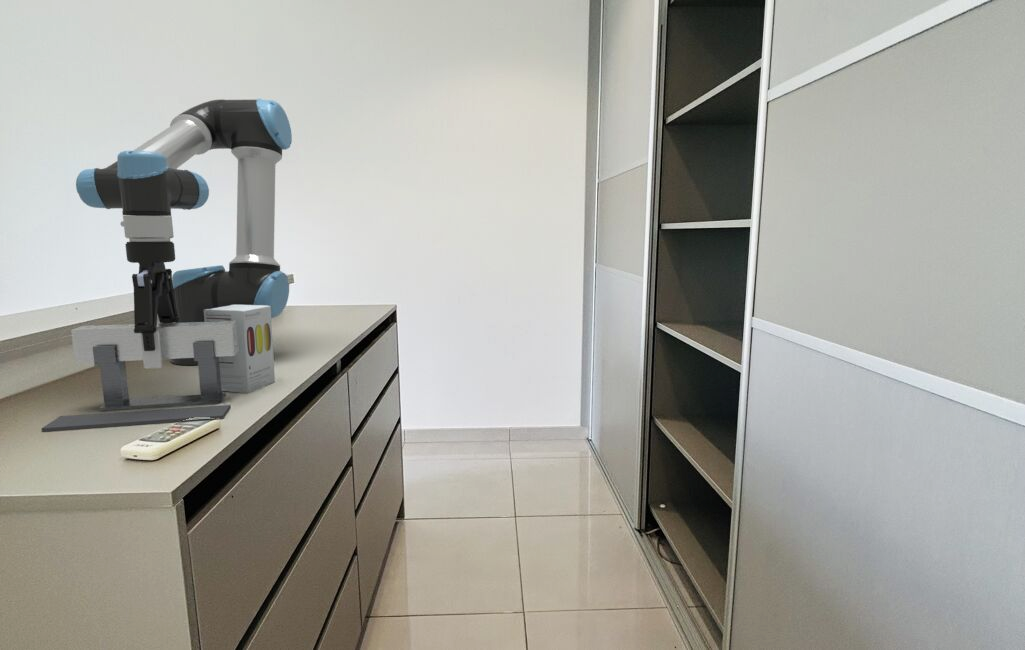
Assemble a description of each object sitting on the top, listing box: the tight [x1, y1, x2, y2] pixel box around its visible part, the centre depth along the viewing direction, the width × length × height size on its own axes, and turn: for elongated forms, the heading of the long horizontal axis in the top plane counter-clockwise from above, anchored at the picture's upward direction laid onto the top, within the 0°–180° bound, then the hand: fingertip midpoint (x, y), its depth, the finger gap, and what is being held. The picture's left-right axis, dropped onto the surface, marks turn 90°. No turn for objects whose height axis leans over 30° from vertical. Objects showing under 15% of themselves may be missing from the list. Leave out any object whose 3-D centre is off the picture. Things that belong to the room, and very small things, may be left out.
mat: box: [41, 404, 232, 433], centre depth 101 cm, size 6×27×1 cm, turn 105°
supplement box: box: [204, 305, 276, 394], centre depth 121 cm, size 10×9×17 cm
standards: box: [93, 342, 227, 412], centre depth 109 cm, size 7×20×12 cm, turn 105°
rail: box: [70, 321, 239, 364], centre depth 108 cm, size 4×26×6 cm, turn 105°
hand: (161, 362), depth 109 cm, fingers open, 9 cm apart
